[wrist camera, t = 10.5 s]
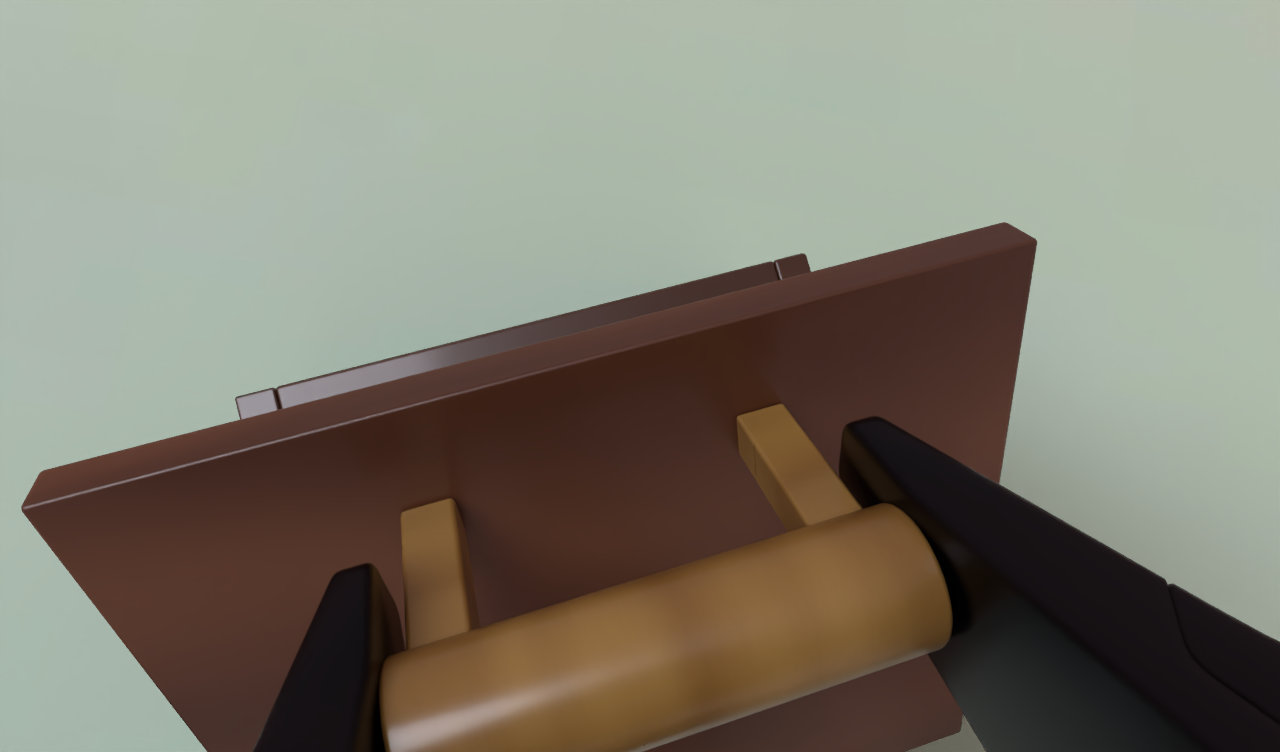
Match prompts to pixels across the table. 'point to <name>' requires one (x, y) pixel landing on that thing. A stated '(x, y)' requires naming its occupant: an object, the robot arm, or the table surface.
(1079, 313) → the table surface
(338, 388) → the wallet box
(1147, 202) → the table surface
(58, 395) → the table surface
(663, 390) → the box lid
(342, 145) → the table surface
